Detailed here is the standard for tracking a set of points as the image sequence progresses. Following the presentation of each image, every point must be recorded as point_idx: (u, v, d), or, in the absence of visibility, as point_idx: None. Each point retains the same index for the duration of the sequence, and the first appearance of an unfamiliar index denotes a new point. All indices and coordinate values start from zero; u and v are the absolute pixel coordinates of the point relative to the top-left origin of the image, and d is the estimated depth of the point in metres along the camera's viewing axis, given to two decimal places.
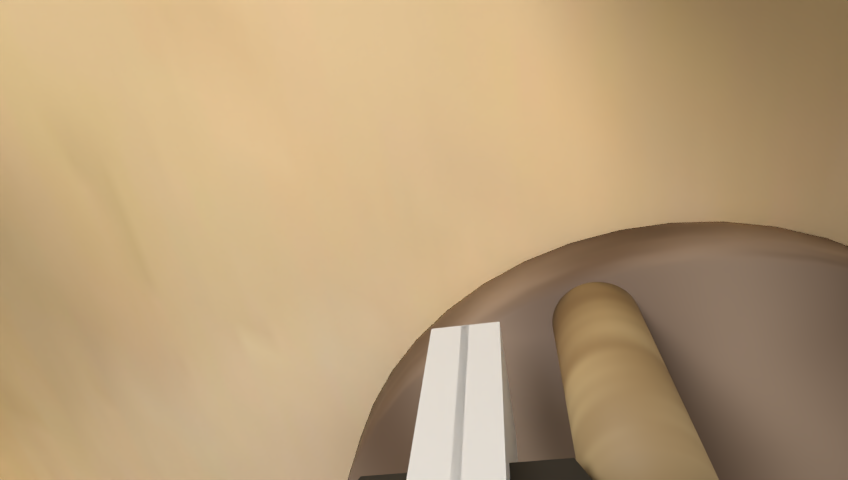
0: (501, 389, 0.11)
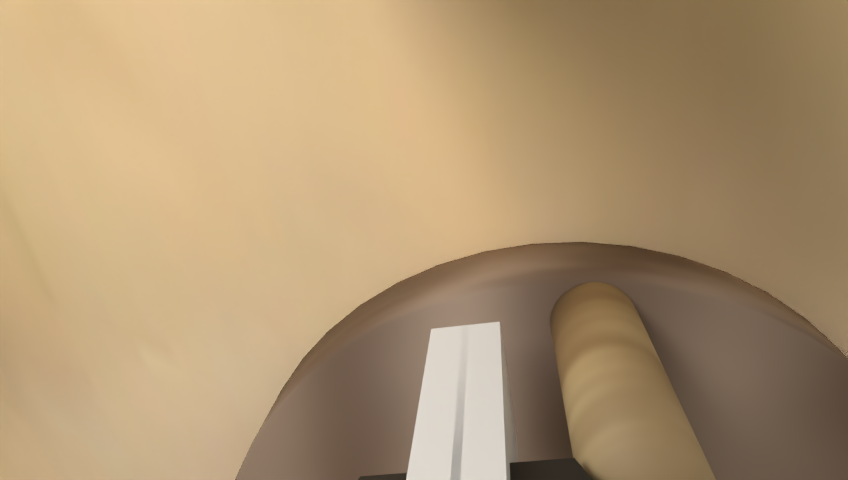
0: (501, 389, 0.11)
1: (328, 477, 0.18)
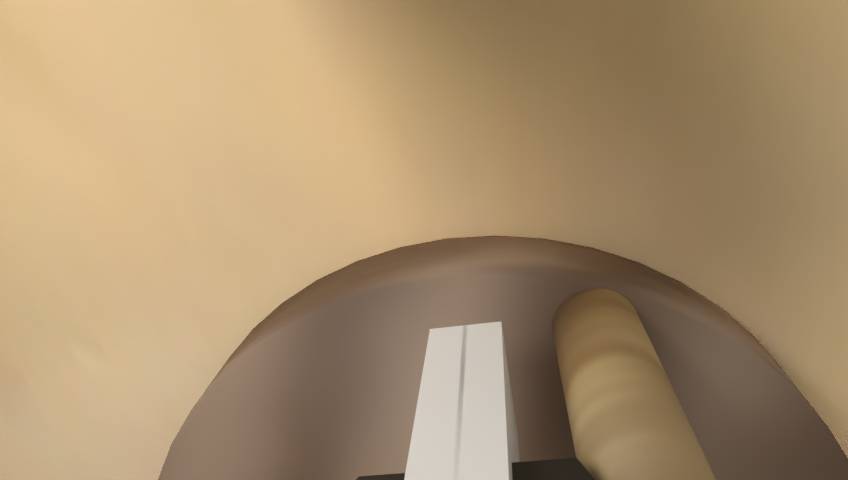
0: (503, 389, 0.11)
1: (289, 428, 0.17)
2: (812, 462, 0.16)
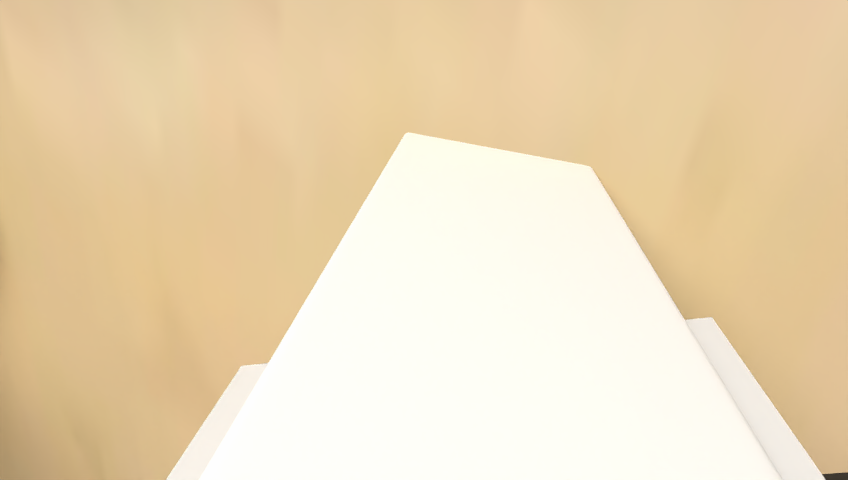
0: (762, 392, 0.09)
1: None
2: None
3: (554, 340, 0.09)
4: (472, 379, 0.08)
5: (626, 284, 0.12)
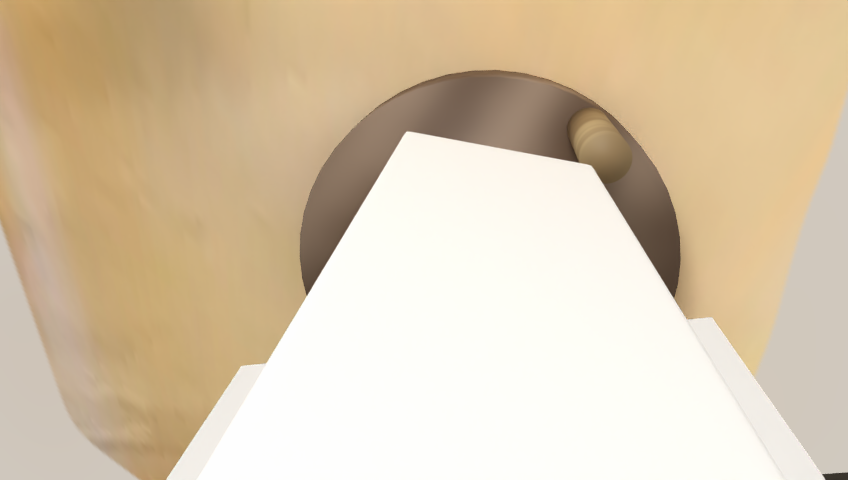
0: (762, 392, 0.09)
1: None
2: (662, 229, 0.33)
3: (554, 338, 0.09)
4: (473, 378, 0.08)
5: (626, 282, 0.12)
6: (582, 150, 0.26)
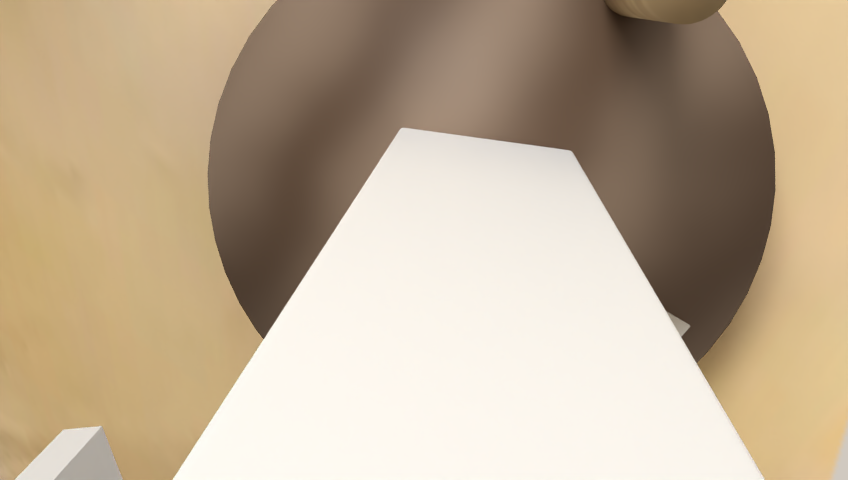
0: None
1: (373, 14, 0.21)
2: (748, 141, 0.22)
3: (524, 281, 0.11)
4: (453, 309, 0.10)
5: (591, 241, 0.14)
6: None
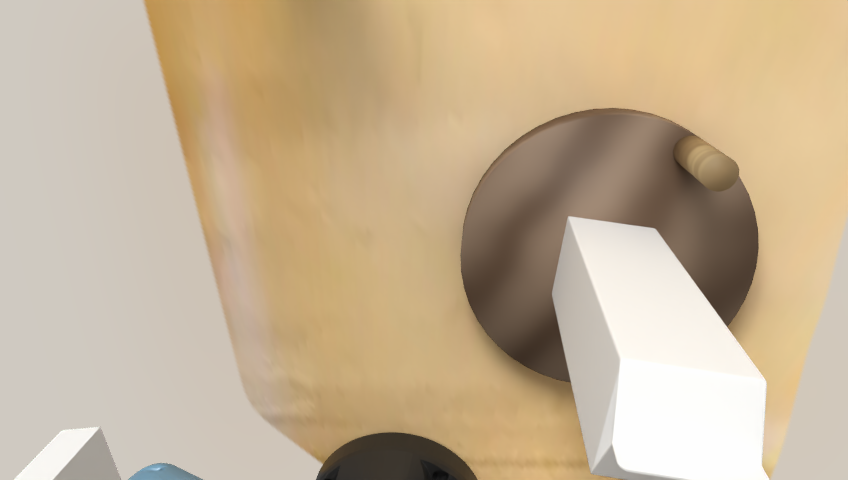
0: None
1: (558, 162, 0.43)
2: (745, 224, 0.44)
3: (666, 300, 0.33)
4: (650, 309, 0.32)
5: (682, 283, 0.35)
6: (702, 168, 0.37)
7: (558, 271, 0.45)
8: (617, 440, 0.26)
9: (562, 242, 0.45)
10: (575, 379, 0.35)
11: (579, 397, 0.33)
